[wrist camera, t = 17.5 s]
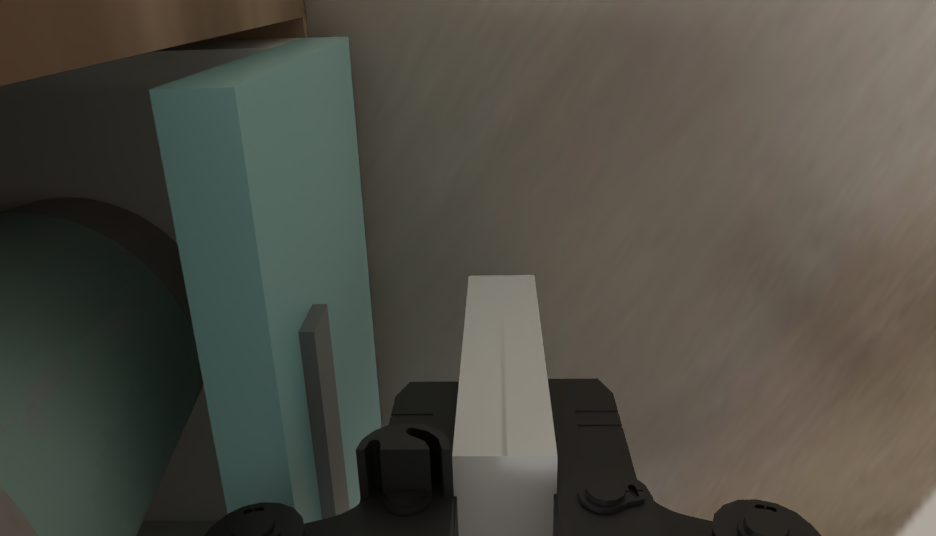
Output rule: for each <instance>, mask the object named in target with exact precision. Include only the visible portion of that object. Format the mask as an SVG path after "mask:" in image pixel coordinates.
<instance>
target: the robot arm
mask: <svg viewBox="0 0 936 536" xmlns="http://www.w3.org/2000/svg"><path fill="white" fill-rule="evenodd" d="M356 459H357V469H358V478H359V488H360V502H359V504H358V505H357V506H355V507H354V508H352V509H350V510H348V511H346V512H344V513H342V514H339V515H336V516H333V517H330V518H326V519H322V520H318V521H313V522H309V523H305V524H304V523H303V517H302V516H301V515H300V514H299V513H298V512H297V511H296V510H295V509H294V508H293V507H290V506H287V505H284V504H281V503H271V502H261V503H256V504H252V505H247V506H243V507H241V508H239V509H237V510H235V511H233V512H230V513H228V514H226V515H225V516H224V517H223V518H221V519H220V520H219V521H218V522H217V523H216V524H214V525H213V526H212V527H211V528H210V529H209V531H208V532H207V533H206V534H205V535H204V536H821V535H820V534H819V533H818V532H817V531H816V530H815V528H814V527H813V526H812V525H811V524H810V523H808V522H807V521H806V520H805V519H803V518H802V517H801V516H800V515H798V514H797V513H796V512H794V511H791V510H789V509H787V508H785V507H783V506H781V505H778V504H775V503H771V502H766V501H761V500H737V501H734V502H731V503H728V504H726V505H723V506H722V507H721V508H720V509H719V510H718V511H717V512H716V513H715V514H714V519H713V522H712V521H708V520H703V519H699V518H694V517H690V516H686V515H683V514H679V513H676V512H673V511H671V510H669V509H667V508H665V507H663V506H660V505H659V504H657V503H656V502H655V501H654V500H653V497H652V495H651V494H650V492H649V490H648V489H647V487H646V486H645V485H644V484H643V483H641V482H640V481H639V480H637V478H636V475H635V471H634V467H633V464H632V460H631V457H630V453H629V449H628V446H627V442H626V439H625V435H624V432H623V428H622V424H621V421H620V417H619V414H618V410H617V406H616V403H615V399H614V396H613V393H612V392H611V391H610V390H609V389H608V388H607V387H606V386H605V385H604V384H602V383H601V382H600V381H599V380H598V379H548V377H547V369H546V362H545V354H544V346H543V338H542V330H541V322H540V315H539V307H538V299H537V291H536V283H535V275H486V276H469V278H468V288H467V299H466V310H465V321H464V332H463V343H462V354H461V365H460V376H459V382H410V383H409V384H408V385H407V386H406V387H405V388H404V389H403V390H402V391H401V392H400V393H399V394H398V395H397V396H396V397H395V401H394V406H393V410H392V417H391V418H390V422H389V425H388V426H385V427H383V428H380V429H377V430H374V431H373V432H372V433H370V434H369V435H367V436H366V437H365V438H363V439H362V440H361V442H360V444H359V445H358V447H357V448H356Z"/></svg>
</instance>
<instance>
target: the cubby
mask: <svg viewBox="0 0 936 536" xmlns="http://www.w3.org/2000/svg"><path fill="white" fill-rule="evenodd" d="M275 38H308V32H307V22H306V12H305V3H304V0H0V86H2V85H7V84H11V83H15V82H20V81H24V80H29V79H33V78H37V77H42V76H46V75H51V74H55V73H59V72H64V71H68V70H73V69H77V68H81V67H86V66H90V65H95V64H99V63H103V62H108V61H112V60H117V59H121V58H125V57H130V56H134V55H139V54H143V53H147V52H152V51H156V50H161V49H165V48H169V47H174V46H178V45H183V44H187V43H191V42H196V41H205V40H240V39H275Z"/></svg>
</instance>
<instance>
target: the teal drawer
mask: <svg viewBox="0 0 936 536" xmlns="http://www.w3.org/2000/svg"><path fill="white" fill-rule="evenodd" d="M66 197H70V198H84V199H91V200H96V201H101V202H105V203H108V204H112V205H115V206H118V207H120V208H123V209H125V210H128V211H130V212H132V213H134V214H136V215H138V216H140V217H142V218H143V219H145V220H147V221H148V222H150V223H152V224H153V225H155V226H156V227H158V228H159V229H160V230H162V231H163V232H164V233H165V234H167V235H168V236H169V237H170V238H171V239H172V240H173V241H175V242H176V243H177V244H178V249H179V255H180V260H181V266H182V271H183V276H184V282H185V287H186V293H187V298H188V303H189V309H190V314H191V319H192V325H193V330H194V336H195V341H196V346H197V352H198V357H199V363H200V368H201V373H202V379H203V386H202V389H201V391H200V393H199V396H198V398H197V400H196V402H195V405H194V407H193V409H192V412H191V414H190V416H189V419H188V421H187V423H186V425H185V428H184V430H183V432H182V434H181V437H180V439H179V441H178V443H177V446H176V448H175V450H174V452H173V455H172V457H171V459H170V461H169V463H168V466H167V468H166V470H165V472H164V475H163V477H162V479H161V481H160V484H159V486H158V488H157V490H156V493H155V495H154V497H153V499H152V502H151V504H150V506H149V508H148V510H147V513H146V515H145V517H144V519H143V522H142V524H141V526H140V528H139V531H138V533H137V535H136V536H204V535H205V534H206V533H207V532H208V531H209V529H210V528H211V527H212V526H213V525H214V524H216V523H217V522H218V521H219V520H220V519H221V518H223V517H224V516H225V515H226V514H228V513H230V512H233V511H235V510H237V509H239V508H241V507H243V506H247V505H252V504H256V503H261V502H271V503H281V504H284V505H287V506H290V507H293V508H294V509H295V510H296V511H297V512H298V513H299V514H300V515H301V516H302V517H303V523H304V524H305V523H309V522H313V521H318V520H322V519H326V518H330V517H333V516H336V515H339V514H342V513H344V512H346V511H348V510H350V509H352V508H354V507H355V506H357V505H358V504H359V502H360V488H359V478H358V469H357V459H356V448H357V447H358V445H359V444H360V442H361V440H362V439H363V438H365V437H366V436H367V435H369V434H370V433H372V432H373V431H374V430H377V429H380V428H382V426H381V414H380V403H379V391H378V379H377V367H376V356H375V344H374V332H373V320H372V309H371V297H370V285H369V273H368V262H367V250H366V238H365V226H364V215H363V203H362V191H361V179H360V168H359V156H358V144H357V132H356V121H355V109H354V97H353V85H352V74H351V62H350V50H349V38H348V36H344V37H309V38H275V39H240V40H205V41H196V42H191V43H187V44H183V45H178V46H174V47H169V48H165V49H161V50H156V51H152V52H147V53H143V54H139V55H134V56H130V57H125V58H121V59H117V60H112V61H108V62H103V63H99V64H95V65H90V66H86V67H81V68H77V69H73V70H68V71H64V72H59V73H55V74H51V75H46V76H42V77H37V78H33V79H29V80H24V81H20V82H15V83H11V84H7V85H2V86H0V212H1V211H4V210H8V209H11V208H15V207H18V206H22V205H25V204H29V203H32V202H36V201H40V200H45V199H52V198H66Z"/></svg>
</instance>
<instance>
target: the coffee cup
mask: <svg viewBox="0 0 936 536" xmlns="http://www.w3.org/2000/svg"><path fill="white" fill-rule="evenodd" d="M202 386H203V379H202V373H201V368H200V363H199V357H198V352H197V346H196V341H195V336H194V330H193V325H192V319H191V314H190V309H189V303H188V298H187V293H186V287H185V282H184V276H183V271H182V266H181V260H180V255H179V249H178V244H177V243H176V242H175V241H173V240H172V239H171V238H170V237H169V236H168V235H167V234H165V233H164V232H163V231H162V230H160V229H159V228H158V227H156V226H155V225H153V224H152V223H150V222H148V221H147V220H145V219H143V218H142V217H140V216H138V215H136V214H134V213H132V212H130V211H128V210H125V209H123V208H120V207H118V206H115V205H112V204H108V203H105V202H101V201H96V200H91V199H84V198H70V197H66V198H52V199H45V200H40V201H36V202H32V203H29V204H25V205H22V206H18V207H15V208H11V209H8V210H4V211H1V212H0V536H136V535H137V533H138V531H139V528H140V526H141V524H142V522H143V519H144V517H145V515H146V513H147V510H148V508H149V506H150V504H151V502H152V499H153V497H154V495H155V493H156V490H157V488H158V486H159V484H160V481H161V479H162V477H163V475H164V472H165V470H166V468H167V466H168V463H169V461H170V459H171V457H172V455H173V452H174V450H175V448H176V446H177V443H178V441H179V439H180V437H181V434H182V432H183V430H184V428H185V425H186V423H187V421H188V419H189V416H190V414H191V412H192V409H193V407H194V405H195V402H196V400H197V398H198V396H199V393H200V391H201V389H202Z"/></svg>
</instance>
